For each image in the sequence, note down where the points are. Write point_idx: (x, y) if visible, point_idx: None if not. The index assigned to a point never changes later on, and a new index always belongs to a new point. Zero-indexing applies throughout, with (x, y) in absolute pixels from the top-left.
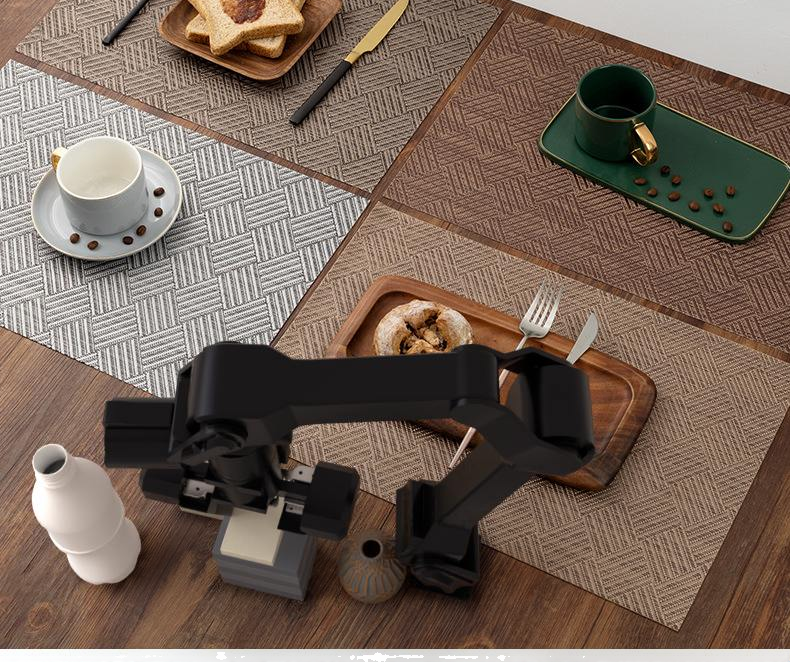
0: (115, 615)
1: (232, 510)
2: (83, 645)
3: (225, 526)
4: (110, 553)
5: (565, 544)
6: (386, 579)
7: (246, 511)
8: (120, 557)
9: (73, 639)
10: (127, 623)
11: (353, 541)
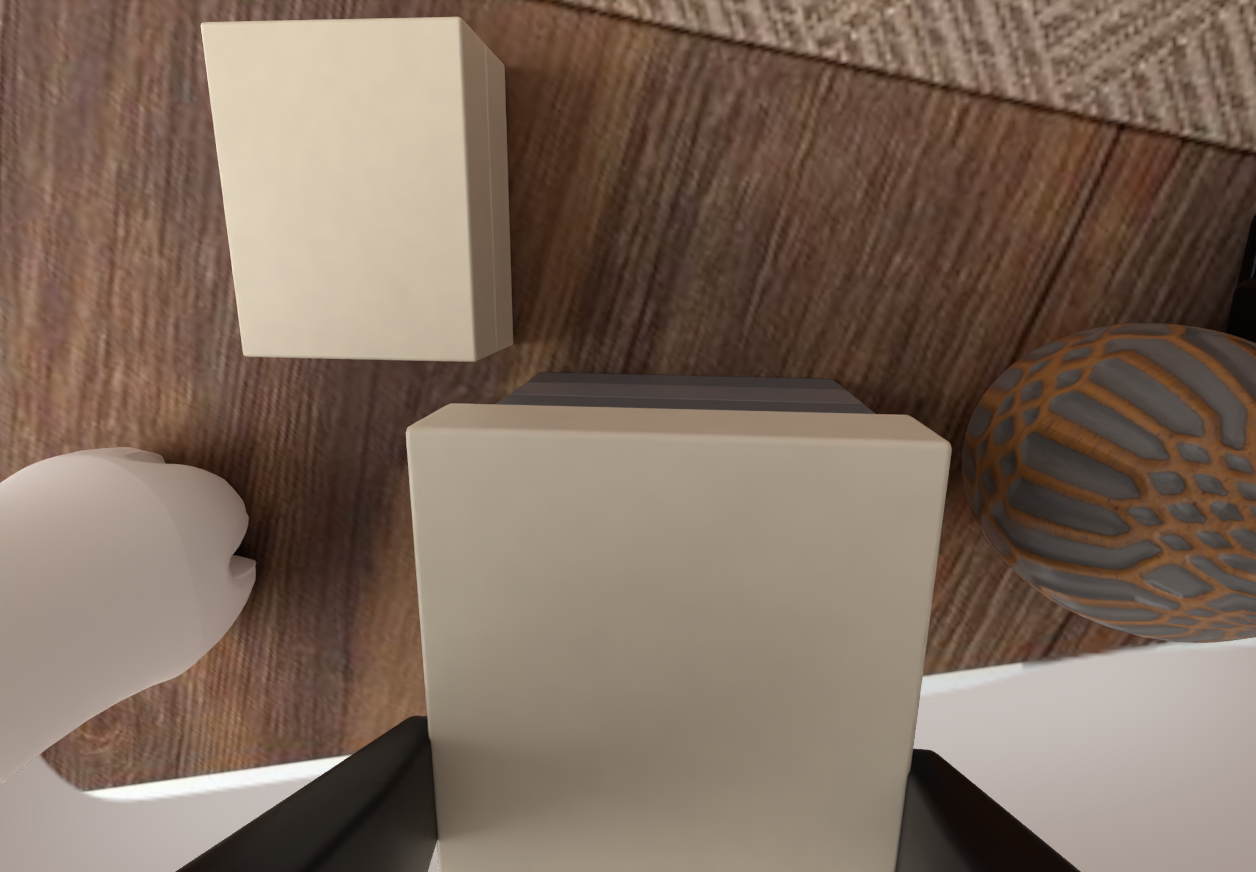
0: (278, 682)
1: (425, 827)
2: (237, 763)
3: None
4: (34, 755)
5: None
6: None
7: (546, 786)
8: (125, 683)
9: (205, 754)
10: (320, 697)
11: (1140, 477)
